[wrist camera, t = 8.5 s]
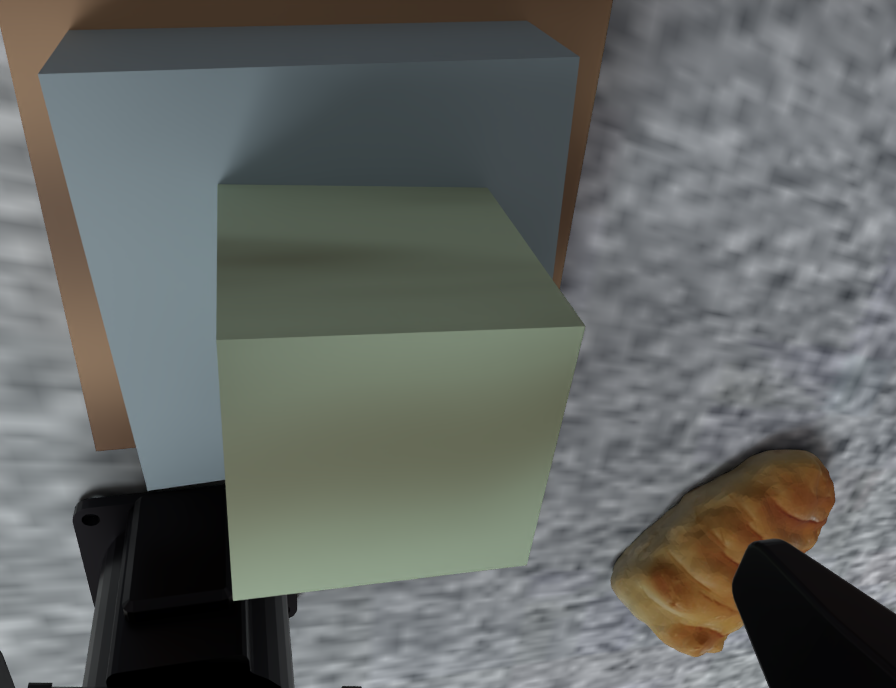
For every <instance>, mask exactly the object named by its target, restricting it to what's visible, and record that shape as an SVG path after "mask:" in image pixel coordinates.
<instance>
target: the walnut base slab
mask: <svg viewBox="0 0 896 688" xmlns="http://www.w3.org/2000/svg"><path fill="white" fill-rule="evenodd" d="M612 2H613V0H0V27H1V32H2V36H3V40H4V45H5V49H6V54H7V58H8V63H9V67H10V71H11V76H12V80H13V85H14V89H15V94H16V98H17V102H18V107H19V111H20V116H21V120H22V125H23V129H24V133H25V138H26V142H27V147H28V151H29V156H30V160H31V164H32V169H33V173H34V178H35V182H36V187H37V191H38V195H39V200H40V204H41V209H42V213H43V218H44V222H45V226H46V231H47V235H48V240H49V244H50V249H51V253H52V257H53V262H54V266H55V271H56V275H57V280H58V284H59V288H60V293H61V297H62V302H63V306H64V311H65V315H66V319H67V324H68V328H69V333H70V337H71V342H72V346H73V350H74V355H75V359H76V364H77V368H78V373H79V377H80V382H81V386H82V390H83V395H84V399H85V404H86V408H87V413H88V417H89V421H90V426H91V430H92V435H93V439H94V444H95V448H96V451H104V450H115V449H126V448H136V445H135V441H134V437H133V433H132V430H131V426H130V422H129V418H128V414H127V411H126V407H125V403H124V399H123V395H122V392H121V388H120V384H119V380H118V376H117V373H116V369H115V365H114V361H113V357H112V354H111V350H110V346H109V342H108V339H107V335H106V331H105V327H104V323H103V320H102V316H101V312H100V308H99V304H98V301H97V297H96V293H95V289H94V285H93V282H92V278H91V274H90V270H89V267H88V263H87V259H86V255H85V251H84V248H83V244H82V240H81V236H80V232H79V229H78V225H77V221H76V217H75V213H74V210H73V206H72V202H71V198H70V194H69V191H68V187H67V183H66V179H65V176H64V172H63V168H62V164H61V160H60V157H59V153H58V149H57V145H56V141H55V138H54V134H53V130H52V126H51V122H50V119H49V115H48V111H47V107H46V104H45V100H44V96H43V92H42V88H41V85H40V81H39V77H38V73H39V72H40V70H41V69H42V67H43V66H44V64H45V63H46V62H47V60H48V59H49V57H50V56H51V54H52V53H53V52H54V50H55V49H56V47H57V46H58V44H59V43H60V42H61V40H62V39H63V37H64V36H65V34H66V33H67V31H68V30H101V29H149V28H197V27H245V26H292V25H340V24H389V23H437V22H485V21H528V22H530V23H531V24H533V25H534V26H536V27H537V28H538V29H540V30H541V31H543V32H544V33H546V34H547V35H549V36H550V37H552V38H553V39H555V40H556V41H557V42H559V43H560V44H562V45H563V46H565V47H566V48H568V49H569V50H571V51H572V52H573V53H575V54H576V55H578V56H579V57H580V60H579V68H578V76H577V84H576V93H575V101H574V109H573V117H572V125H571V134H570V142H569V150H568V158H567V166H566V174H565V183H564V191H563V199H562V207H561V215H560V224H559V232H558V240H557V248H556V256H555V265H554V273H553V281H554V283H555V284H556V285H557V287H558V288H559V289H560V284H561V278H562V273H563V267H564V262H565V257H566V251H567V246H568V240H569V235H570V230H571V224H572V219H573V213H574V208H575V202H576V197H577V192H578V186H579V181H580V175H581V170H582V165H583V159H584V154H585V148H586V143H587V138H588V132H589V127H590V121H591V116H592V111H593V105H594V100H595V94H596V89H597V83H598V78H599V73H600V67H601V62H602V56H603V51H604V46H605V40H606V35H607V29H608V24H609V19H610V13H611V8H612Z"/></svg>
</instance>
